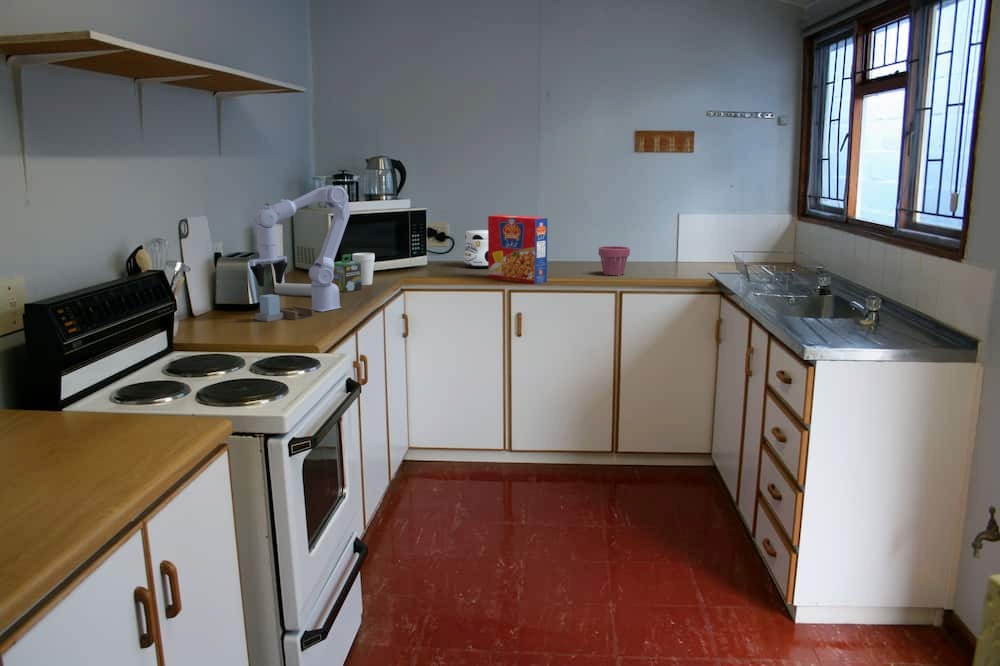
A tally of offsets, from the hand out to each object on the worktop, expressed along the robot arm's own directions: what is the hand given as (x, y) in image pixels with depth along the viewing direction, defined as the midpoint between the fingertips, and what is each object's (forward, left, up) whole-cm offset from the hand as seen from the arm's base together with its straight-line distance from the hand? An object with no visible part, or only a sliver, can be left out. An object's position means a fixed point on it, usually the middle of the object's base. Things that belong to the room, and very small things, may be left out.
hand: (270, 284), depth 272 cm
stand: (+6, +6, -10) cm, 13 cm away
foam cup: (-68, -25, -11) cm, 74 cm away
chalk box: (-52, -19, -11) cm, 57 cm away
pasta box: (-116, +22, -11) cm, 119 cm away
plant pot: (-156, +49, -11) cm, 164 cm away
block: (+6, +7, -8) cm, 12 cm away
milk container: (-142, -18, -11) cm, 144 cm away
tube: (-33, -22, -11) cm, 41 cm away
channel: (-2, +9, -10) cm, 14 cm away
